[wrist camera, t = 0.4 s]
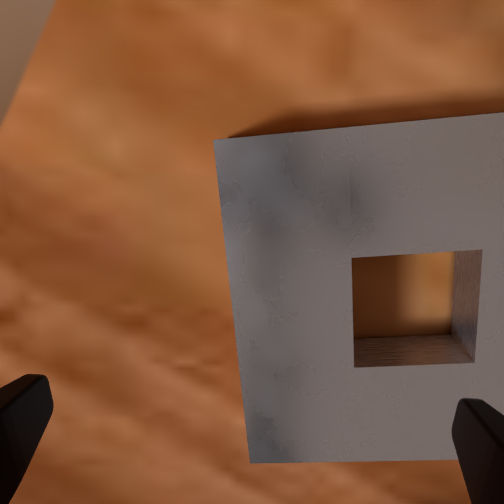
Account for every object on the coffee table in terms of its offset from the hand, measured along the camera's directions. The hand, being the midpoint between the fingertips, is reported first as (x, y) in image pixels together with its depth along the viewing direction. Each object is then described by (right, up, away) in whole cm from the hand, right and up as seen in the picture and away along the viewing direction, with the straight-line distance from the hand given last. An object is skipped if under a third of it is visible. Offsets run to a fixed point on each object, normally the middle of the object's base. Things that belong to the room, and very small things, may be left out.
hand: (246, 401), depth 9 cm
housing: (+8, +1, +14) cm, 16 cm away
